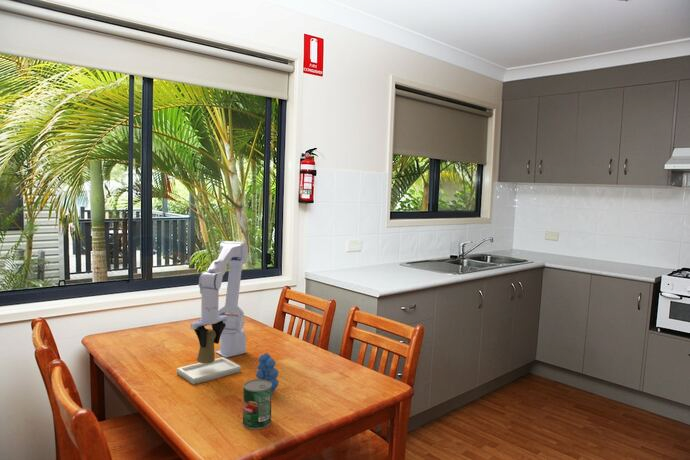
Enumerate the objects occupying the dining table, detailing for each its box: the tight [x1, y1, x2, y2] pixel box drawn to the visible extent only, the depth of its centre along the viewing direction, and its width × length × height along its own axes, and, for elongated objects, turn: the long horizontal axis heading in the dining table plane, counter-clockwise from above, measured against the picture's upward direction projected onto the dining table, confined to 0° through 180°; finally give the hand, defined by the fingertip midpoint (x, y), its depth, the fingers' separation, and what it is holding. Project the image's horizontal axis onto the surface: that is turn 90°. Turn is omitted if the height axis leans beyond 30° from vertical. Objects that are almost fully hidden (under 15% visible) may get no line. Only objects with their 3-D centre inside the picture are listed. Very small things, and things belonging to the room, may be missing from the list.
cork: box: [196, 328, 216, 364], centre depth 172 cm, size 6×6×11 cm
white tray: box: [176, 356, 242, 386], centre depth 172 cm, size 18×12×2 cm, turn 134°
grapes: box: [255, 352, 280, 394], centre depth 159 cm, size 12×7×12 cm, turn 36°
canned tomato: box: [242, 378, 273, 430], centre depth 137 cm, size 8×8×11 cm
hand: (209, 345), depth 172 cm, fingers closed on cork, 5 cm apart
